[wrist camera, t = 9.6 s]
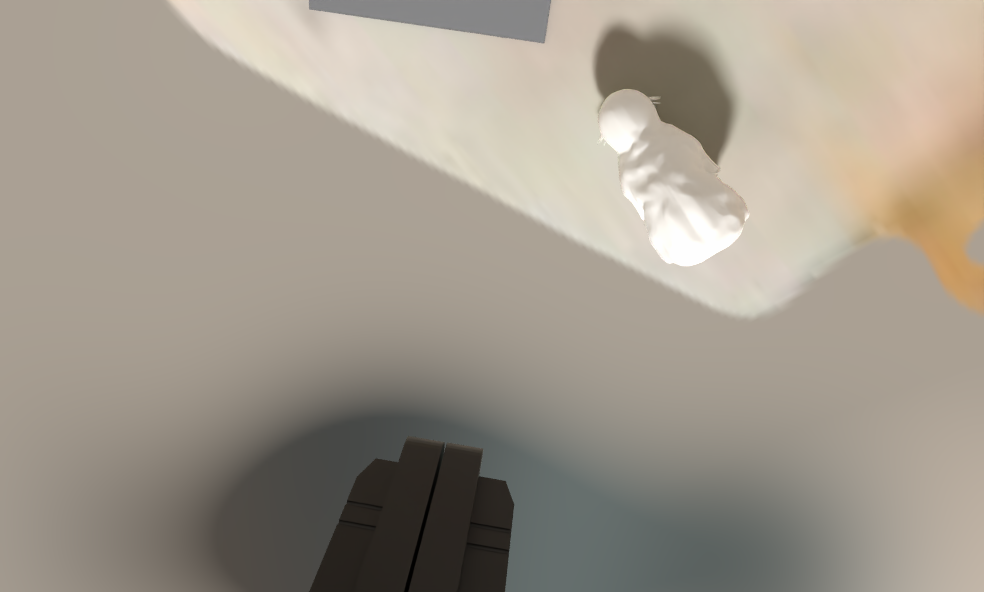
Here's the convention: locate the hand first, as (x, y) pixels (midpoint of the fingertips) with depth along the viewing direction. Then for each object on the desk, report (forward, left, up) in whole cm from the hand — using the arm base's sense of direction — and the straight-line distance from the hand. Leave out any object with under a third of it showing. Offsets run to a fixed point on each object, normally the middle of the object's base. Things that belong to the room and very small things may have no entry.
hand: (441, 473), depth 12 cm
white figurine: (-9, +2, -35) cm, 37 cm away
